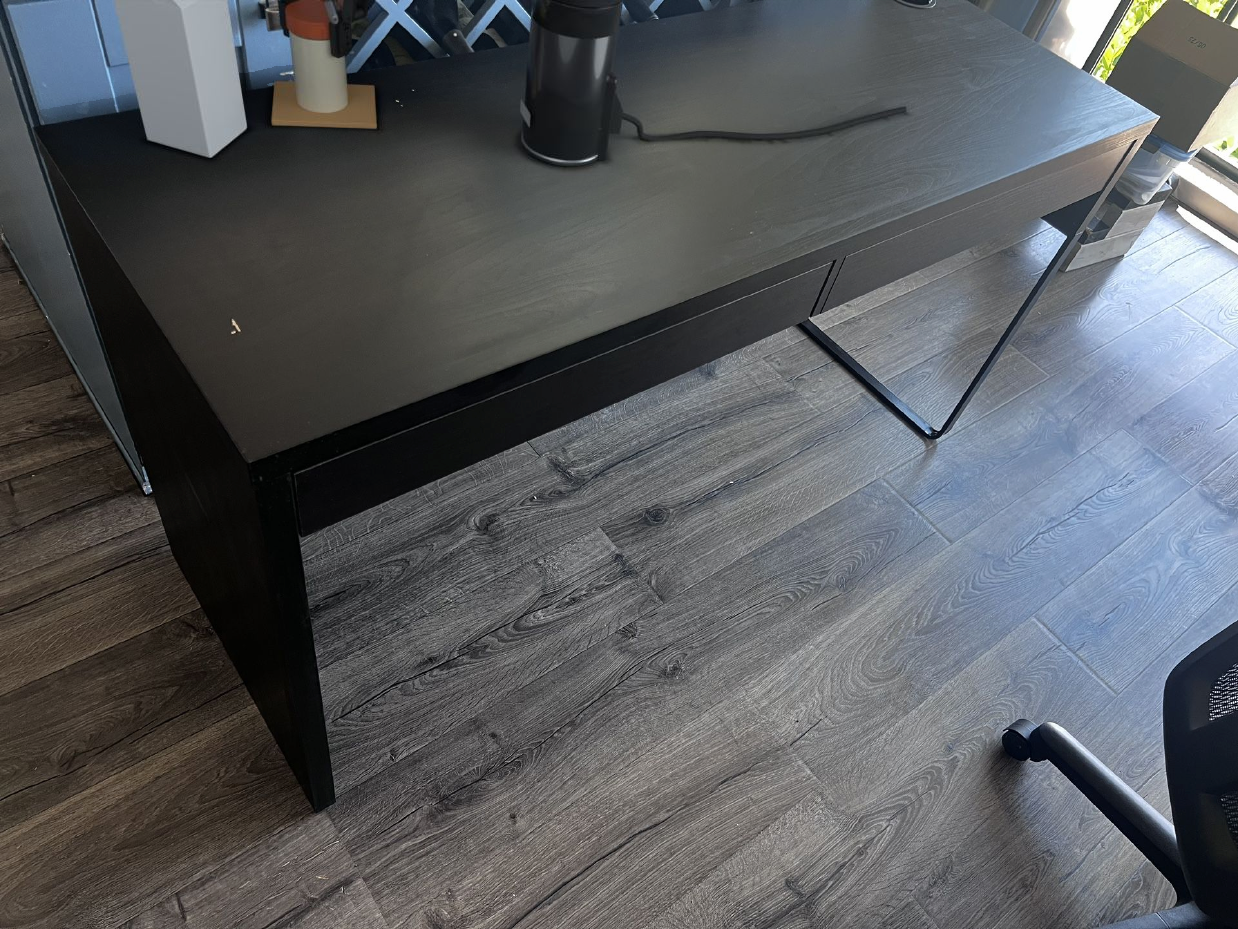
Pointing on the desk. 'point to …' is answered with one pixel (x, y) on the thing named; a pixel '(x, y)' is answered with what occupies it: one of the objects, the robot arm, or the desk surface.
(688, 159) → the desk surface
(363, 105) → the mat
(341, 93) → the jar
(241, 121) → the milk carton
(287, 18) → the lid
